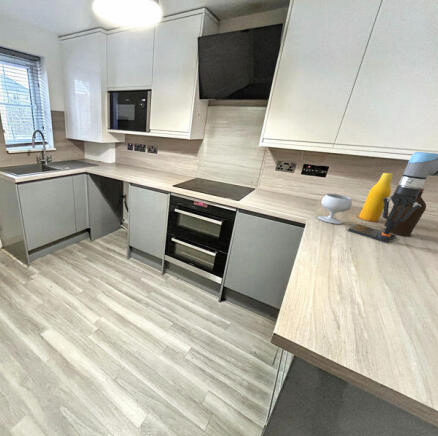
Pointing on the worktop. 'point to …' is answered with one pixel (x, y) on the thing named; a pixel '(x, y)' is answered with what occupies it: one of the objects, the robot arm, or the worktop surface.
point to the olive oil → (412, 220)
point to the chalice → (335, 206)
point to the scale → (371, 233)
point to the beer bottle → (376, 199)
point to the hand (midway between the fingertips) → (386, 233)
